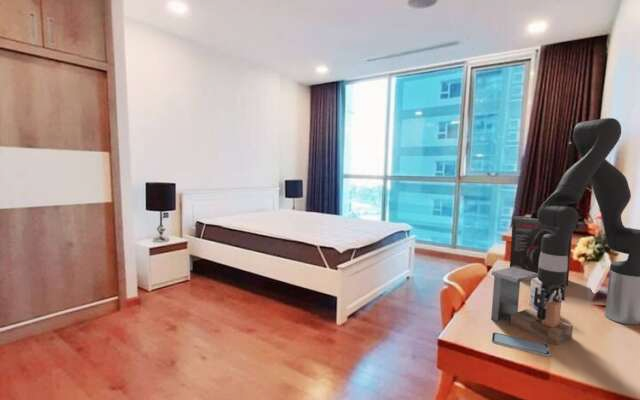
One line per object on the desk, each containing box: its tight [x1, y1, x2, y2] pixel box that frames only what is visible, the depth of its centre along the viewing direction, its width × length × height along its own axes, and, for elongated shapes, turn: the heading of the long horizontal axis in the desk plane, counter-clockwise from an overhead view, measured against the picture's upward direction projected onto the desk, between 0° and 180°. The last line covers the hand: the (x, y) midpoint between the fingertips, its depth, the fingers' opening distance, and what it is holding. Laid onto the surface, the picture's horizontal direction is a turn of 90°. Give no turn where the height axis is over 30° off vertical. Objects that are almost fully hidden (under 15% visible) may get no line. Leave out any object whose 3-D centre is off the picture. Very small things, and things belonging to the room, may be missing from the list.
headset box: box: [509, 211, 573, 286], centre depth 164 cm, size 25×12×33 cm, turn 54°
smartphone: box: [490, 332, 551, 357], centre depth 101 cm, size 7×1×15 cm
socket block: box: [509, 308, 574, 346], centre depth 109 cm, size 10×14×4 cm
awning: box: [490, 266, 538, 323], centre depth 117 cm, size 13×9×17 cm
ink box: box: [528, 277, 547, 311], centre depth 128 cm, size 9×5×12 cm, turn 168°
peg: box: [542, 301, 562, 328], centre depth 107 cm, size 4×4×11 cm
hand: (548, 316), depth 107 cm, fingers open, 8 cm apart
